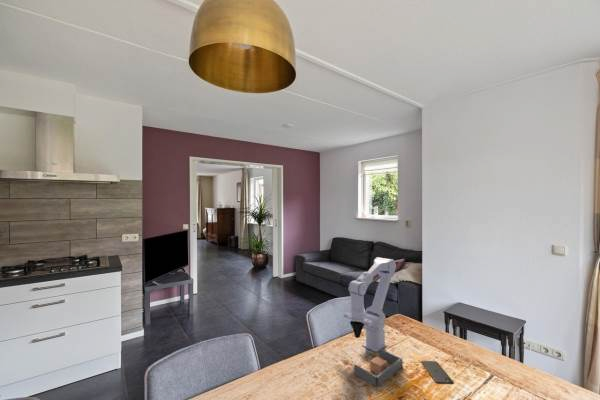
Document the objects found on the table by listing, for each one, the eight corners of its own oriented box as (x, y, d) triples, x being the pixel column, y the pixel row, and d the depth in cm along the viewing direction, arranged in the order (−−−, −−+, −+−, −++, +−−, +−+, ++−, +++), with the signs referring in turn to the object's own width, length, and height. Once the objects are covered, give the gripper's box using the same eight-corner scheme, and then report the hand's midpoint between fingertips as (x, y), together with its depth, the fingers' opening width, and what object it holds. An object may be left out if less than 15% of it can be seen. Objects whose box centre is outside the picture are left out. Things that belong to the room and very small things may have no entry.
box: (380, 356, 124) (380, 348, 124) (402, 366, 116) (402, 358, 116) (354, 373, 111) (354, 365, 111) (377, 387, 103) (377, 377, 103)
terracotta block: (376, 365, 117) (376, 356, 117) (387, 370, 113) (387, 361, 114) (370, 370, 114) (370, 360, 114) (380, 375, 110) (380, 365, 110)
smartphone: (436, 360, 120) (455, 382, 105) (436, 362, 120) (455, 384, 105) (420, 360, 120) (435, 382, 105) (420, 362, 120) (435, 384, 105)
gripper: (339, 305, 127) (339, 334, 127) (366, 314, 117) (366, 346, 116) (348, 301, 132) (348, 329, 132) (374, 310, 121) (375, 340, 121)
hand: (357, 337), depth 124 cm, fingers closed
